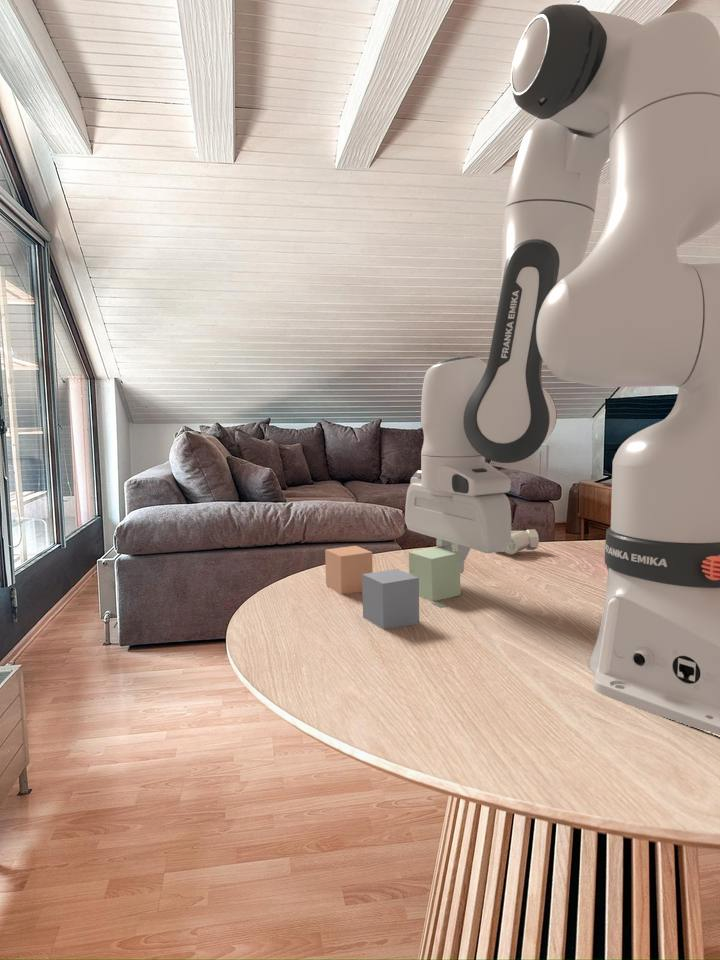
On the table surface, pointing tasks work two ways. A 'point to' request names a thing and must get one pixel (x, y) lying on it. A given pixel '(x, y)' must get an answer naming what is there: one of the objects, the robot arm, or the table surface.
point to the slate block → (391, 598)
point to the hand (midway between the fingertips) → (452, 571)
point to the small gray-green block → (439, 604)
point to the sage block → (436, 572)
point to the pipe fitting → (523, 541)
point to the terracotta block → (347, 568)
